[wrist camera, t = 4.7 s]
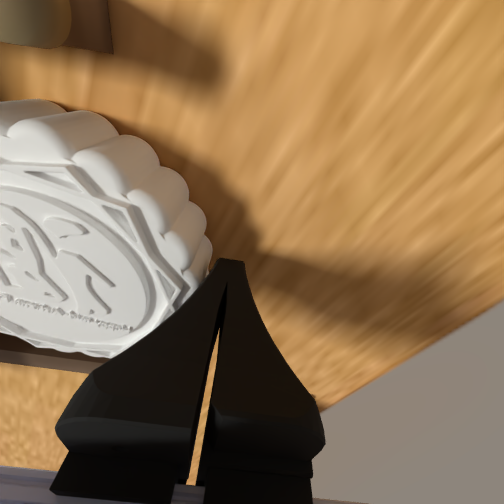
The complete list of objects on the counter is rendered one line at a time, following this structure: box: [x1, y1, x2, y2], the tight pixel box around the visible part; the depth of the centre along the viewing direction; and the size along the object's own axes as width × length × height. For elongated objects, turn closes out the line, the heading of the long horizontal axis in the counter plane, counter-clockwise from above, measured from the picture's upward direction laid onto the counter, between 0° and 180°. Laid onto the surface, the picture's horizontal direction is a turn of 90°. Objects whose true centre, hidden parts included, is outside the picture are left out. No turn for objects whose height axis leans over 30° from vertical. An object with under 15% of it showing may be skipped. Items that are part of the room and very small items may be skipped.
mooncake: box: [0, 99, 213, 358], centre depth 11 cm, size 12×12×4 cm
